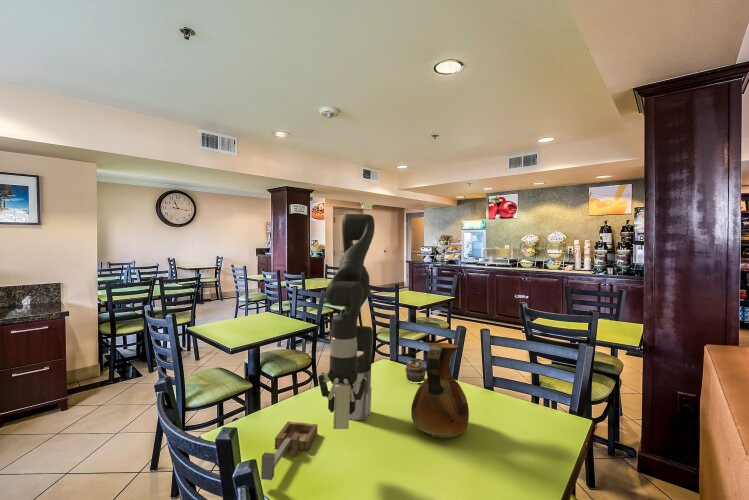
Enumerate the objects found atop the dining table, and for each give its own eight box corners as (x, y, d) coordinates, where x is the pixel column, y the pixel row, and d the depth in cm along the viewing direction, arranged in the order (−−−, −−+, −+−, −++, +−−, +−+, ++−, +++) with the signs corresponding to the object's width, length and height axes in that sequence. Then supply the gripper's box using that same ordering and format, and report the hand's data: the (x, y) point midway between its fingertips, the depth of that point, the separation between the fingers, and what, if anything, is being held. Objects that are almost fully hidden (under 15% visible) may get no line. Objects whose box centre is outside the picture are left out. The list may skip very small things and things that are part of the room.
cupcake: (404, 383, 162) (405, 362, 162) (406, 375, 172) (406, 355, 172) (425, 385, 161) (426, 364, 161) (425, 377, 170) (426, 357, 170)
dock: (317, 433, 117) (317, 418, 117) (303, 457, 104) (304, 440, 104) (287, 430, 119) (287, 415, 119) (270, 454, 105) (271, 436, 105)
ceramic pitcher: (472, 423, 128) (475, 341, 127) (461, 452, 109) (465, 357, 109) (420, 411, 136) (423, 334, 135) (402, 436, 118) (405, 347, 117)
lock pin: (292, 447, 105) (292, 427, 105) (271, 480, 90) (272, 457, 90) (283, 446, 105) (284, 426, 105) (261, 479, 90) (261, 456, 90)
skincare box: (333, 418, 102) (334, 376, 101) (349, 418, 102) (350, 376, 102) (333, 430, 95) (334, 386, 95) (349, 429, 96) (350, 385, 95)
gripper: (314, 354, 95) (313, 416, 96) (366, 358, 93) (364, 421, 94) (322, 346, 103) (320, 403, 103) (370, 349, 101) (368, 408, 101)
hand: (341, 411), depth 99 cm, fingers closed on skincare box, 5 cm apart
